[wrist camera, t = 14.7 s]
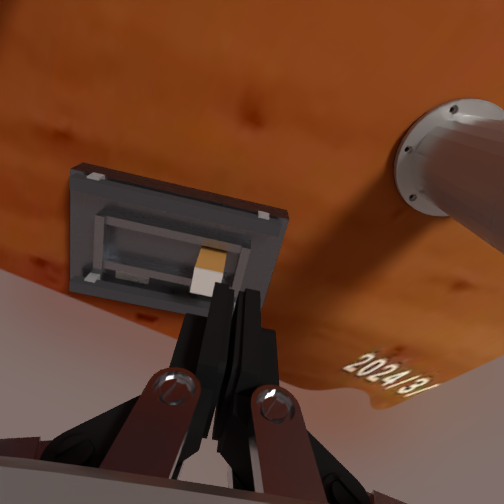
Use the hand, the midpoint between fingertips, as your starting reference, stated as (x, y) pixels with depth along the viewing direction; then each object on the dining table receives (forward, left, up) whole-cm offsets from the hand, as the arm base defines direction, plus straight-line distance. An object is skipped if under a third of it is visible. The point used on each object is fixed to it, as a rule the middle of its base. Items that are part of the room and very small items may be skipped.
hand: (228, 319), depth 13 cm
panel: (+6, +12, -29) cm, 32 cm away
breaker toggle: (+1, +12, -26) cm, 28 cm away
